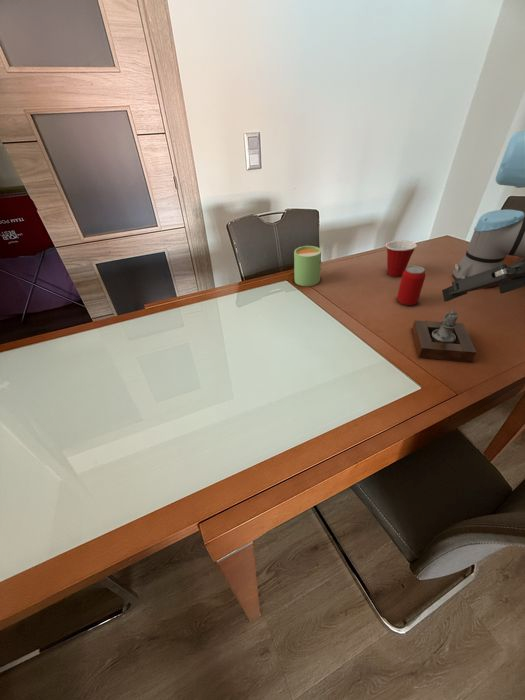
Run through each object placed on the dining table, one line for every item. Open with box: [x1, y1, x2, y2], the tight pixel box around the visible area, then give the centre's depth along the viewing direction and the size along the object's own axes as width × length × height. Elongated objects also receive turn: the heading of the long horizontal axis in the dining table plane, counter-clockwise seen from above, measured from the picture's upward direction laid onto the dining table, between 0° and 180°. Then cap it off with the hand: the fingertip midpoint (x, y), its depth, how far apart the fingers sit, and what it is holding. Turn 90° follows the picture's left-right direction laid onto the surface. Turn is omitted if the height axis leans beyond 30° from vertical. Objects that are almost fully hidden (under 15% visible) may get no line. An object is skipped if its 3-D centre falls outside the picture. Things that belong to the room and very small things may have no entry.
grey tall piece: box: [431, 309, 459, 344], centre depth 82 cm, size 6×6×12 cm
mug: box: [293, 245, 323, 287], centre depth 118 cm, size 13×10×12 cm
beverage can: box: [396, 264, 426, 306], centre depth 100 cm, size 7×7×12 cm
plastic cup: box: [385, 239, 418, 278], centre depth 116 cm, size 11×11×12 cm
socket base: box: [411, 319, 477, 363], centre depth 85 cm, size 13×13×4 cm
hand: (472, 291), depth 70 cm, fingers open, 13 cm apart
